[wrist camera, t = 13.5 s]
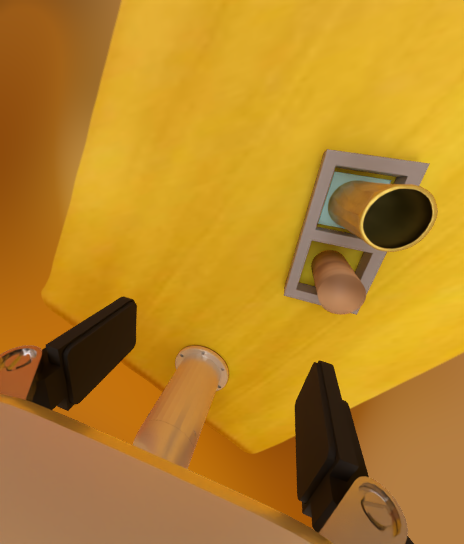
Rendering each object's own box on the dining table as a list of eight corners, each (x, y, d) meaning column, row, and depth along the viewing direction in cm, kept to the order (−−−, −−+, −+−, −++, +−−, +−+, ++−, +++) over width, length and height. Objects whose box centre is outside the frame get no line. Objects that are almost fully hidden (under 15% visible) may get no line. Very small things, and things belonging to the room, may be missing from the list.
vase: (384, 182, 28) (462, 180, 15) (368, 229, 30) (424, 262, 17) (334, 178, 29) (366, 174, 16) (323, 224, 31) (344, 251, 19)
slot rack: (351, 304, 35) (356, 314, 32) (284, 287, 37) (283, 295, 34) (415, 165, 26) (429, 163, 24) (324, 152, 28) (327, 149, 26)
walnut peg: (339, 283, 34) (355, 319, 25) (307, 275, 35) (312, 307, 26) (351, 254, 32) (373, 281, 23) (317, 247, 33) (326, 270, 24)
